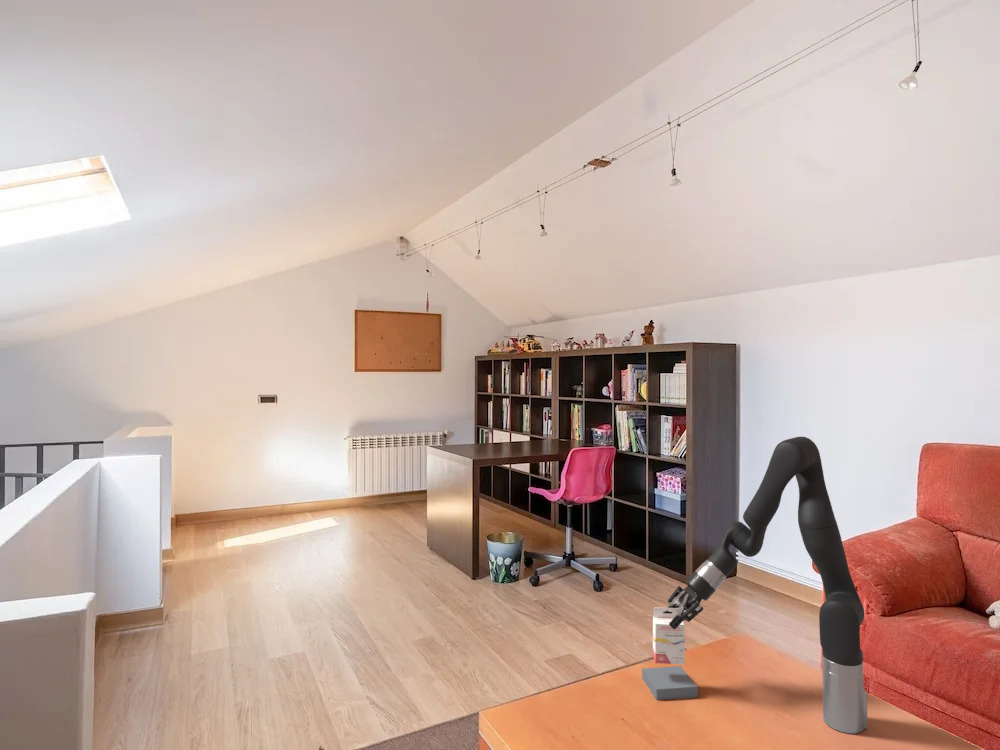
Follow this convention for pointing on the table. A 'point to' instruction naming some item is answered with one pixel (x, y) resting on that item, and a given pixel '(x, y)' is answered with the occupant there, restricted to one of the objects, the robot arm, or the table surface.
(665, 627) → the ink cartridge box
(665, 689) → the slate plate
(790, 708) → the table surface
